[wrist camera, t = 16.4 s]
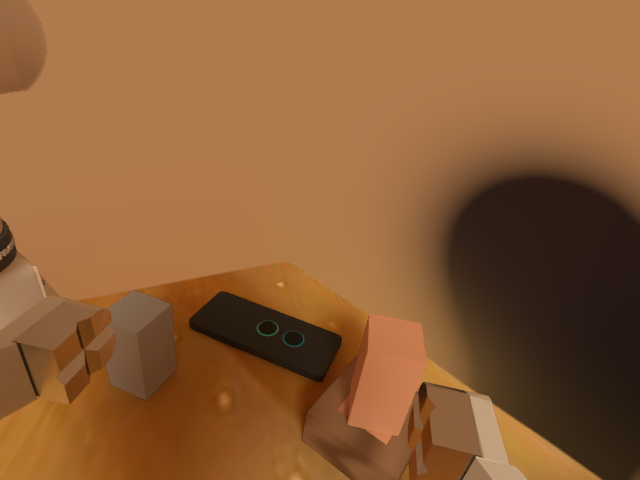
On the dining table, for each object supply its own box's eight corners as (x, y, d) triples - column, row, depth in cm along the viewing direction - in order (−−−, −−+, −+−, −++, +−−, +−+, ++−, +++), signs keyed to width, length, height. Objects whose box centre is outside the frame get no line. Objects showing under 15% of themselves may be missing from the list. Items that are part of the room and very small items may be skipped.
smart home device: (322, 377, 45) (186, 320, 50) (320, 387, 46) (186, 330, 51) (343, 334, 52) (222, 288, 57) (341, 343, 53) (222, 297, 58)
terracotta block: (347, 425, 36) (367, 350, 31) (350, 383, 40) (369, 313, 35) (398, 436, 36) (427, 363, 31) (396, 393, 40) (421, 323, 35)
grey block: (110, 384, 42) (95, 316, 37) (143, 354, 46) (134, 289, 41) (146, 401, 41) (136, 333, 36) (176, 368, 45) (171, 304, 40)
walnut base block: (301, 442, 39) (307, 411, 37) (350, 383, 47) (357, 354, 44) (385, 509, 35) (398, 479, 32) (424, 432, 42) (436, 402, 40)
